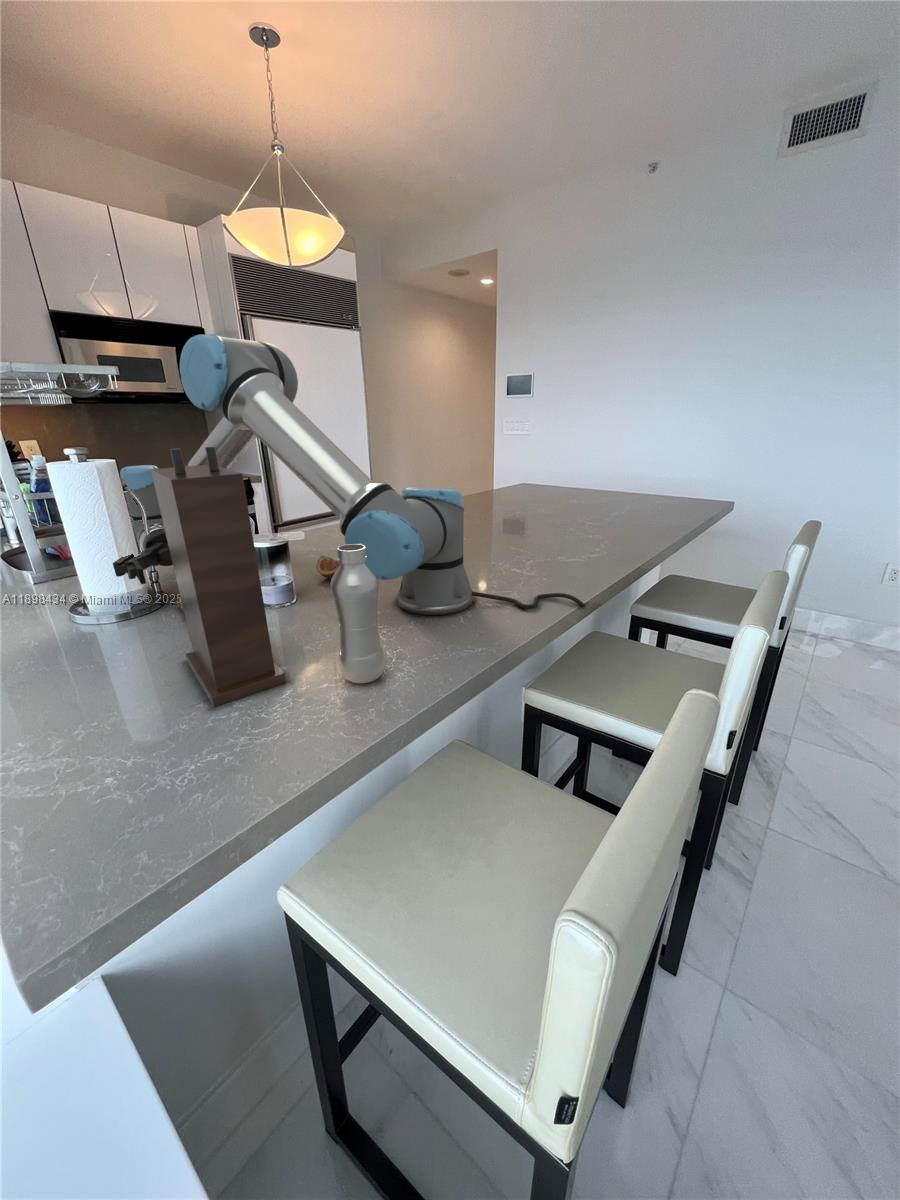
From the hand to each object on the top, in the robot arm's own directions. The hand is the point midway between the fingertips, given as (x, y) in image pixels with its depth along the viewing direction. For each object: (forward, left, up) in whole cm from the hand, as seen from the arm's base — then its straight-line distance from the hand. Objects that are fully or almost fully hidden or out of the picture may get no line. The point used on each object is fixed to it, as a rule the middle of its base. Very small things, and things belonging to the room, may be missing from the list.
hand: (184, 568), depth 89 cm
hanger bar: (-1, +1, -11) cm, 11 cm away
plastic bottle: (-35, +21, -11) cm, 43 cm away
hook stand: (-15, +19, -11) cm, 27 cm away
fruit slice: (-21, -24, -11) cm, 33 cm away
